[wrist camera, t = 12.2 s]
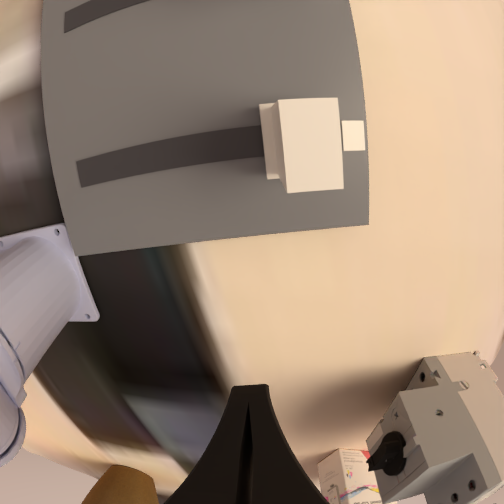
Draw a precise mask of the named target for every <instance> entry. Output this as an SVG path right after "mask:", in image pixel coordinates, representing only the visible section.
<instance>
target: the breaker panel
mask: <svg viewBox="0 0 504 504" xmlns="http://www.w3.org/2000/svg"><path fill="white" fill-rule="evenodd" d="M41 82H42V97H43V108H44V118H45V126H46V134H47V141H48V147H49V153H50V159H51V164H52V169H53V174H54V179H55V184H56V188H57V193H58V197H59V201H60V205H61V209H62V213H63V217H64V221H65V224H66V228H67V231H68V235H69V238H70V241H71V244H72V248H73V251H74V254H75V256H83V255H91V254H99V253H107V252H115V251H123V250H131V249H139V248H148V247H156V246H165V245H174V244H182V243H191V242H200V241H209V240H218V239H228V238H237V237H247V236H256V235H266V234H276V233H286V232H296V231H306V230H317V229H327V228H338V227H349V226H360V225H369V163H368V140H367V124H366V111H365V100H364V90H363V82H362V73H361V66H360V59H359V52H358V46H357V40H356V34H355V28H354V23H353V18H352V13H351V8H350V3H349V0H43V9H42V23H41ZM301 98H338V106H339V117H340V129H341V143H342V160H343V182H344V189H334V190H320V191H308V192H296V193H287V192H286V190H285V188H284V186H283V184H282V182H281V180H280V178H278V179H267V174H266V165H265V155H264V146H263V137H262V128H261V119H260V111H259V104H266V103H275V102H276V101H277V100H283V99H301Z"/></svg>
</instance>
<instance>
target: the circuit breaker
mask: <svg viewBox="0 0 504 504" xmlns="http://www.w3.org/2000/svg"><path fill="white" fill-rule="evenodd" d="M478 355H479V351H475V353H474V354H472V353H471V352H466V353H459V354H451V355H442V356H433V357H424V359H423V360H422V362H421V364H420V366H419V368H418V369H417V371H416V373H415V375H414V376H413V378H412V380H411V381H410V383H409V385H408V386H407V388H406V390H405V391H399V393H398V394H397V396H396V397H395V399H394V401H393V402H392V404H391V405H390V407H389V408H388V410H387V411H386V413H385V414H384V416H383V418H384V419H382V420H380V422H379V423H378V425H377V426H376V427H375V429H374V430H373V432H372V433H371V434H370V436H369V437H368V438H367V440H366V443H367V446H368V450H369V454H370V457H369V458H368V460H367V461H366V463H368V465H369V468H368V472H369V471H374V473H375V477H376V481H377V485H378V489H379V493H380V497H381V500H382V504H387V503H391V502H395V501H399V500H402V499H406V498H409V497H413V496H416V495H419V494H422V493H424V495H425V498H426V501H427V504H477V503H478V502H480V501H482V500H484V499H485V498H487V497H489V496H491V495H492V494H493V493H495V492H496V491H498V490H499V489H500V488H502V487H503V486H504V396H503V395H502V393H501V391H500V390H499V388H498V387H497V385H496V384H495V383H496V381H497V380H498V378H497V376H496V375H495V373H494V372H493V371H492V369H491V368H490V366H489V365H488V363H487V362H486V361H485V360H481V359H480V357H479V356H478ZM481 365H484V367H485V369H482V368H481ZM423 378H424V381H423V382H422V380H423Z"/></svg>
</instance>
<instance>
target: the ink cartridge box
mask: <svg viewBox="0 0 504 504" xmlns="http://www.w3.org/2000/svg"><path fill="white" fill-rule="evenodd" d="M369 457H370V454H369V451H359V450H348V449H337V450H336V451H335V452H333V453H332V454H331V455H329V456H328V457H327V458H325V459H324V460H322V461H321V462H319V463H318V472H319V479H320V487H321V494H322V495H323V496H324V498H325V499H326V500H327V501H328V502H329V503H330V504H382V500H381V497H380V493H379V489H378V485H377V481H376V477H375V473H374V471H369V472H368V468H369V465H368V463H366V461H367V460H368V458H369ZM387 504H397V501H395V502H391V503H387Z"/></svg>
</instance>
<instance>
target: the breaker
mask: <svg viewBox="0 0 504 504" xmlns="http://www.w3.org/2000/svg"><path fill="white" fill-rule="evenodd" d="M259 111H260V119H261V128H262V137H263V146H264V155H265V165H266V174H267V179H278V178H280V180H281V182H282V184H283V186H284V188H285V190H286V192H287V193H296V192H308V191H320V190H334V189H344V182H343V160H342V143H341V129H340V117H339V106H338V98H301V99H283V100H277V101H276V102H275V103H266V104H259Z"/></svg>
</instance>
